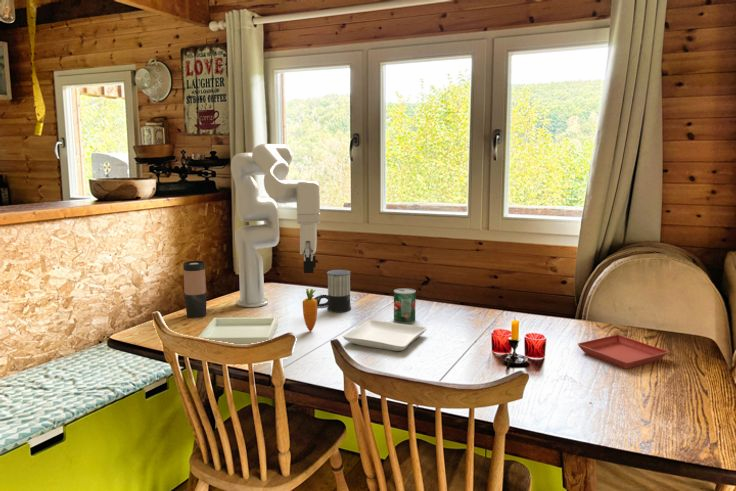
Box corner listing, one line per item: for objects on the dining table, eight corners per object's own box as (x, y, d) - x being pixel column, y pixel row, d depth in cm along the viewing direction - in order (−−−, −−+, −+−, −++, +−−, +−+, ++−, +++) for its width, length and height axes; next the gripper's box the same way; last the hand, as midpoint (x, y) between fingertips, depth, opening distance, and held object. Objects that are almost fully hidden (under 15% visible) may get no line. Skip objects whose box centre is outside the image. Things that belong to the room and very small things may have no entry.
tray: (214, 326, 200) (214, 317, 199) (277, 325, 200) (277, 317, 200) (197, 347, 178) (197, 337, 178) (268, 346, 179) (268, 337, 178)
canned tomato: (419, 321, 205) (420, 291, 204) (402, 324, 201) (402, 294, 199) (406, 316, 212) (406, 287, 210) (389, 319, 208) (389, 290, 206)
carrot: (303, 329, 196) (302, 286, 194) (317, 328, 196) (317, 286, 194) (302, 333, 191) (302, 290, 189) (317, 333, 192) (317, 289, 189)
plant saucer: (626, 373, 158) (627, 362, 157) (575, 353, 173) (576, 342, 173) (669, 362, 166) (670, 351, 165) (616, 344, 182) (617, 334, 181)
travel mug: (210, 312, 217) (207, 260, 214) (202, 318, 209) (199, 264, 206) (190, 312, 218) (188, 260, 214) (182, 317, 210) (179, 264, 207)
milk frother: (350, 312, 216) (350, 274, 214) (309, 312, 217) (308, 274, 214) (352, 303, 231) (351, 266, 228) (313, 303, 231) (312, 266, 228)
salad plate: (427, 336, 190) (427, 326, 189) (404, 356, 171) (404, 345, 170) (369, 328, 199) (369, 318, 198) (341, 346, 180) (341, 336, 179)
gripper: (299, 216, 196) (301, 265, 199) (294, 221, 179) (296, 275, 181) (321, 216, 196) (322, 265, 199) (318, 221, 179) (319, 275, 182)
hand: (310, 270), depth 190 cm, fingers open, 9 cm apart
